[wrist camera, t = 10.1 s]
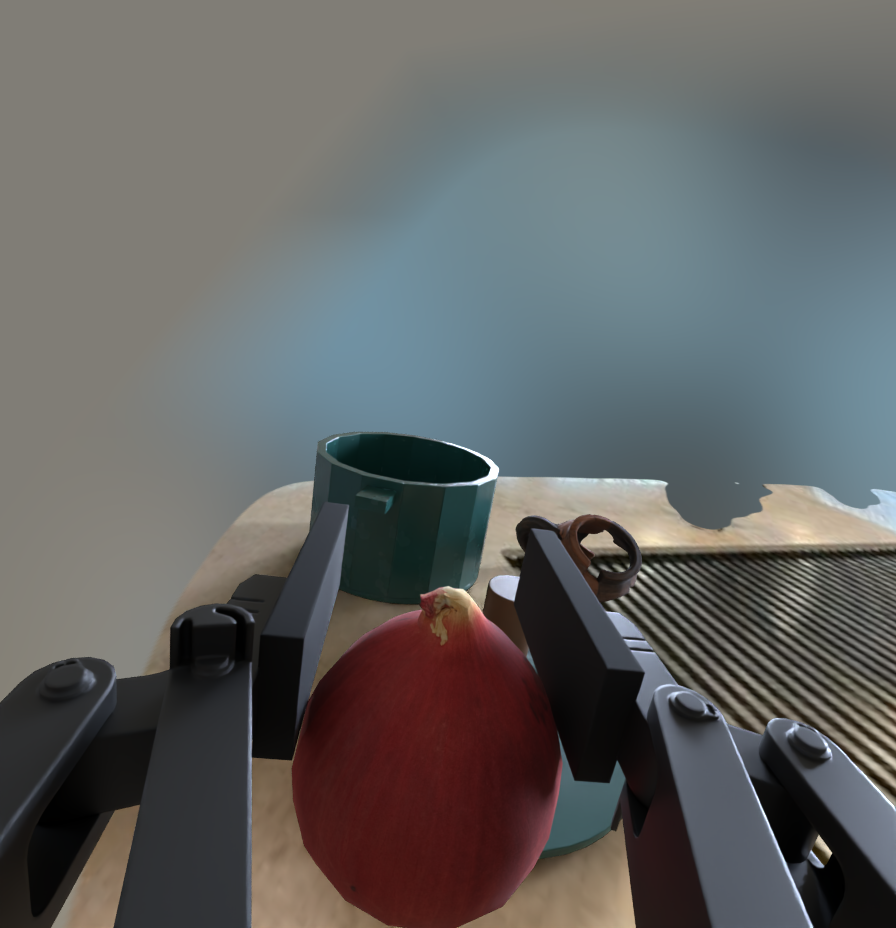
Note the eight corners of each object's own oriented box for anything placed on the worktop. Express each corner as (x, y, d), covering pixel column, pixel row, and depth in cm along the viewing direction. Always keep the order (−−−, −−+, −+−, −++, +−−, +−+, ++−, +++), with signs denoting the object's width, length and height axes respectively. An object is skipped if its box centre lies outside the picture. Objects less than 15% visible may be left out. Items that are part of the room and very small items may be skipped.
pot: (256, 591, 40) (264, 466, 37) (354, 504, 61) (363, 419, 58) (460, 642, 38) (485, 513, 35) (488, 533, 59) (505, 447, 56)
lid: (283, 805, 24) (298, 639, 21) (389, 611, 40) (405, 505, 38) (668, 923, 21) (734, 752, 19) (611, 665, 38) (643, 557, 36)
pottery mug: (608, 571, 55) (652, 528, 50) (600, 647, 48) (649, 607, 43) (509, 524, 56) (540, 476, 50) (487, 593, 49) (520, 546, 43)
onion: (406, 740, 16) (447, 511, 14) (564, 880, 13) (650, 607, 11) (232, 868, 12) (255, 564, 10) (404, 1133, 8) (496, 754, 6)
